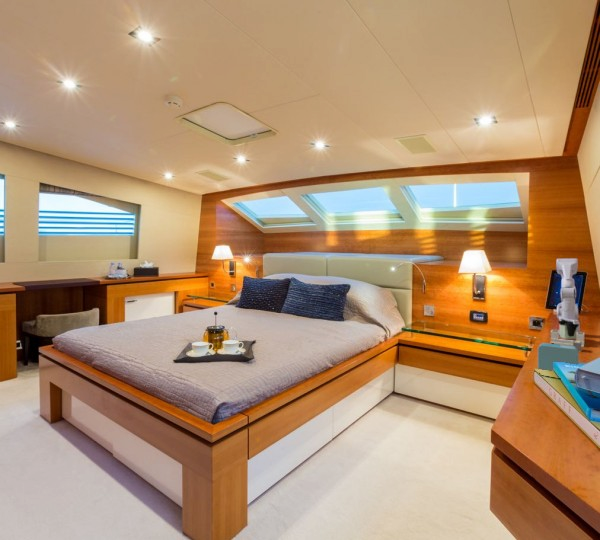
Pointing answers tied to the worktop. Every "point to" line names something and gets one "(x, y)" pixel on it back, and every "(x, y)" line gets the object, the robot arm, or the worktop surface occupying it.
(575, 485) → the worktop surface
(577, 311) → the robot arm
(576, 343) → the block
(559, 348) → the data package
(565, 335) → the green module
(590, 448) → the worktop surface
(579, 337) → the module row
